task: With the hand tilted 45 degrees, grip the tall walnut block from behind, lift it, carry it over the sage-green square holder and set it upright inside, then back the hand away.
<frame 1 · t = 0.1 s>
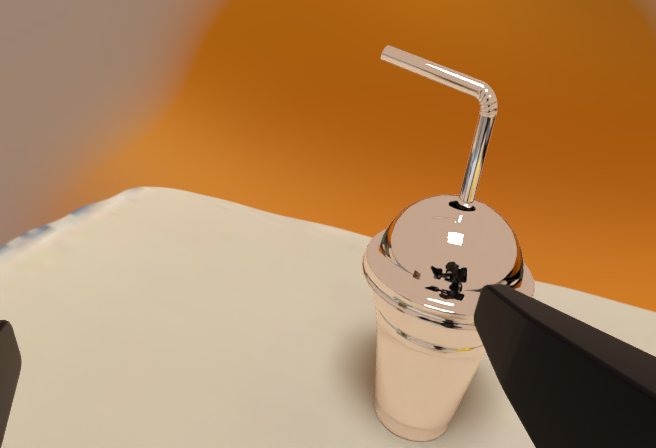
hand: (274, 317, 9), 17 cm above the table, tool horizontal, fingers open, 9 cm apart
cup with straw: (408, 407, 28), on the table
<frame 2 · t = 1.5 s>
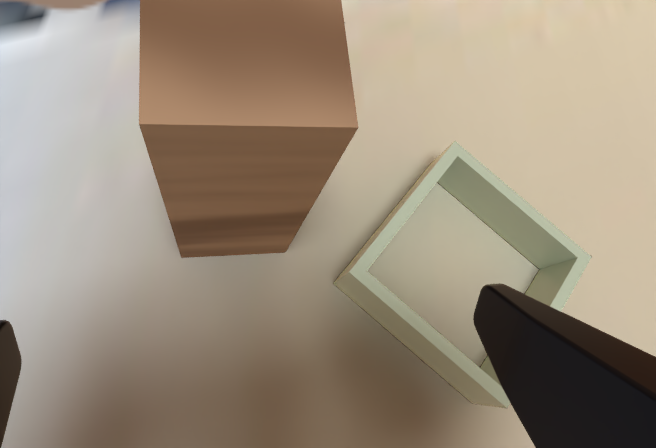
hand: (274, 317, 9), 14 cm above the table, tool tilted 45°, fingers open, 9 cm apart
green holder: (449, 275, 25), on the table
walnut block: (232, 206, 23), on the table
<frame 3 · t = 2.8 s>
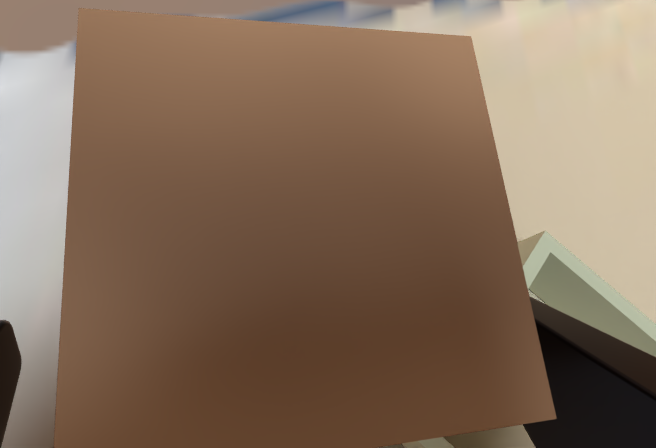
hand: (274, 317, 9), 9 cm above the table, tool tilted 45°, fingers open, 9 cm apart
green holder: (534, 405, 19), on the table
walnut block: (245, 323, 17), on the table
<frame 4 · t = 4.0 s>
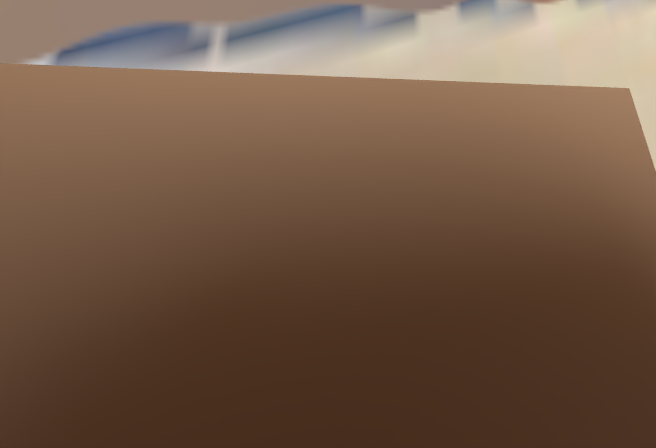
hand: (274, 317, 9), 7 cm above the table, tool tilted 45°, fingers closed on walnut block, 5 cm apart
walnut block: (252, 384, 15), on the table, touching gripper
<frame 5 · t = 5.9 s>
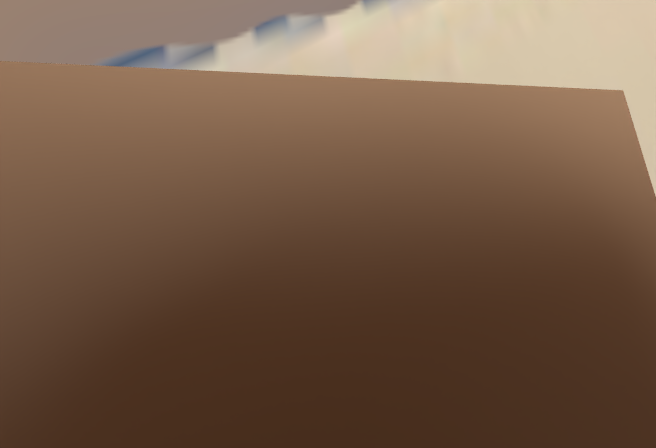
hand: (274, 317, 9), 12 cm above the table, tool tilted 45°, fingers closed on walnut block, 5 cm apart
walnut block: (255, 383, 15), point 6 cm above the table, touching gripper
when the fingers open (8 cm above the table, at t = 7.9 s): walnut block drops 1 cm, resting in green holder.
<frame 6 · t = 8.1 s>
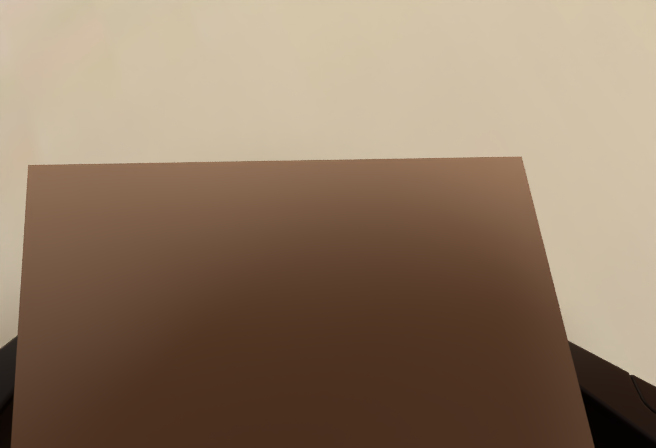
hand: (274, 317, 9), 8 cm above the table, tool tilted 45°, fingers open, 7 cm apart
walnut block: (248, 383, 16), resting in green holder
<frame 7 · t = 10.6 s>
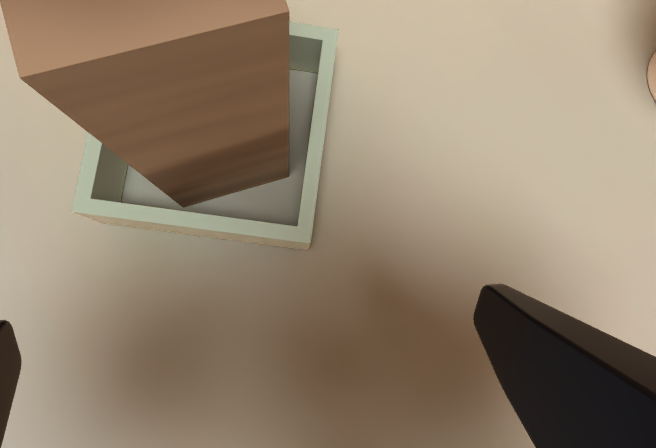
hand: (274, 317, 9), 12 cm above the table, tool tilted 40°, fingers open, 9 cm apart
green holder: (222, 139, 22), on the table
walnut block: (221, 141, 22), resting in green holder
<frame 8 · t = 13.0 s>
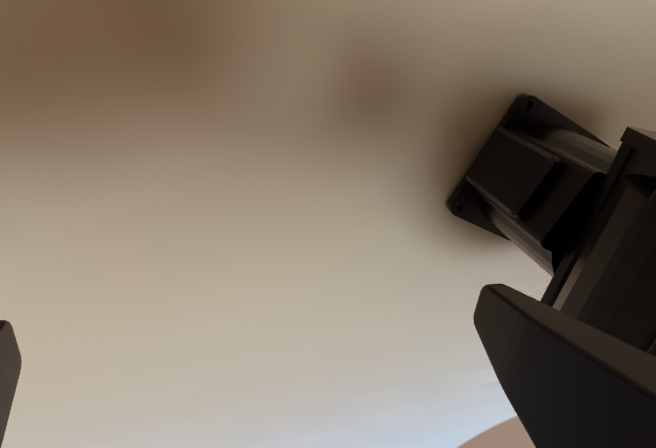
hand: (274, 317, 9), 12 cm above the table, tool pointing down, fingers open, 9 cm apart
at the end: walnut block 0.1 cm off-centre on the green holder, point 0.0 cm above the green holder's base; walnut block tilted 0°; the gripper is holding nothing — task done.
